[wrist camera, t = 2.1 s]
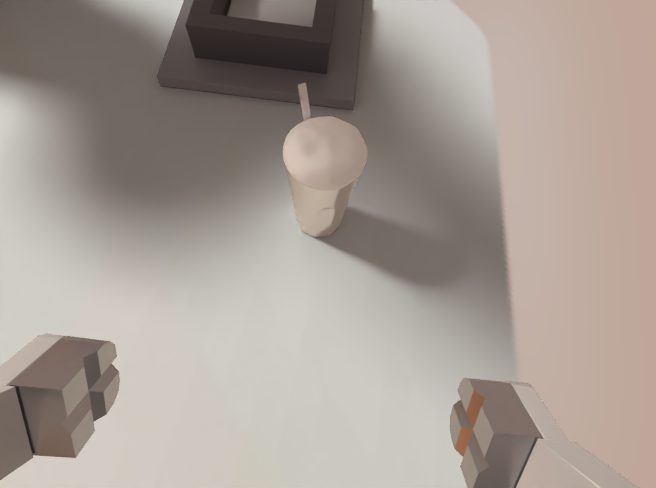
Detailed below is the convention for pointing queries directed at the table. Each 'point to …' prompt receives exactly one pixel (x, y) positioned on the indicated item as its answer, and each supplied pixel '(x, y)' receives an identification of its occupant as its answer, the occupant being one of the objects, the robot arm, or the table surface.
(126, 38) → the table surface
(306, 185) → the milkshake
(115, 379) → the robot arm
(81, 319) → the table surface
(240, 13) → the square planter tray
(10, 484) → the table surface
